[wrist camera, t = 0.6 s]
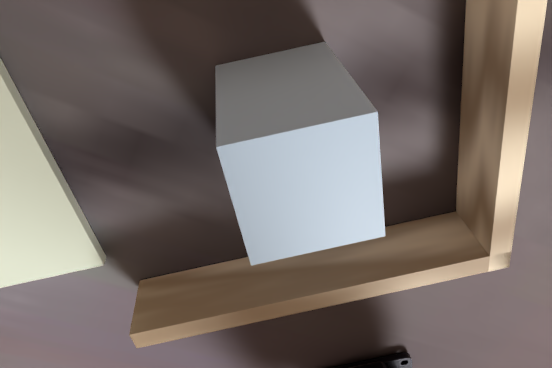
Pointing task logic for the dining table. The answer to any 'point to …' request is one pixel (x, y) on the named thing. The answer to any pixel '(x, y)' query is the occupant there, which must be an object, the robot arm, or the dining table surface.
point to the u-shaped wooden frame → (398, 238)
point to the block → (298, 153)
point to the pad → (36, 202)
